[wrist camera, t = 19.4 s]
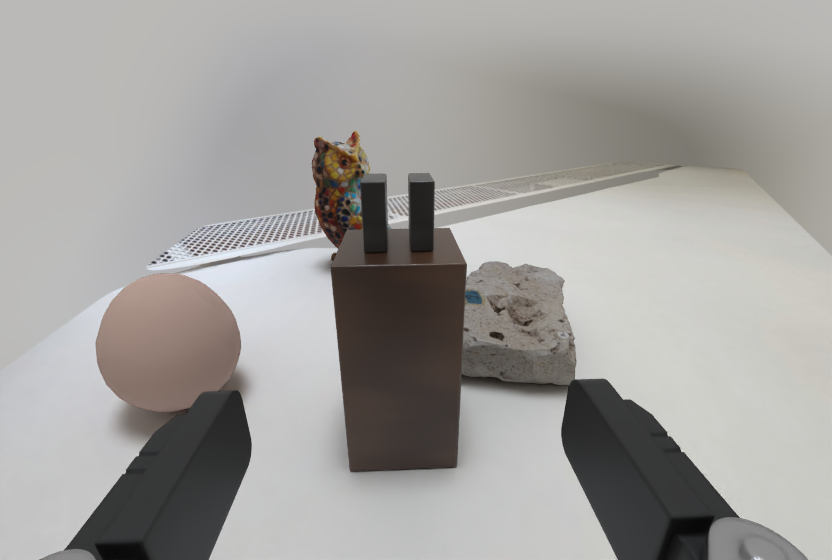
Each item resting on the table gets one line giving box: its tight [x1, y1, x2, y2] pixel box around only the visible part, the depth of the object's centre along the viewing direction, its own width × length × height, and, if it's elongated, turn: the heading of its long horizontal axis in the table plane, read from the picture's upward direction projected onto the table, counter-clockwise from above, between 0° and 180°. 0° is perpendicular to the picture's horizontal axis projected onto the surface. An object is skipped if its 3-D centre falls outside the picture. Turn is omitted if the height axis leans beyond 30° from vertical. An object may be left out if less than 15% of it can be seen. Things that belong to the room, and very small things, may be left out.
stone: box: [461, 262, 576, 386], centre depth 30 cm, size 13×6×10 cm
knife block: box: [331, 173, 467, 471], centre depth 19 cm, size 5×5×14 cm
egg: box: [96, 273, 241, 412], centre depth 23 cm, size 7×7×8 cm
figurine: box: [312, 131, 392, 260], centre depth 44 cm, size 9×9×15 cm
